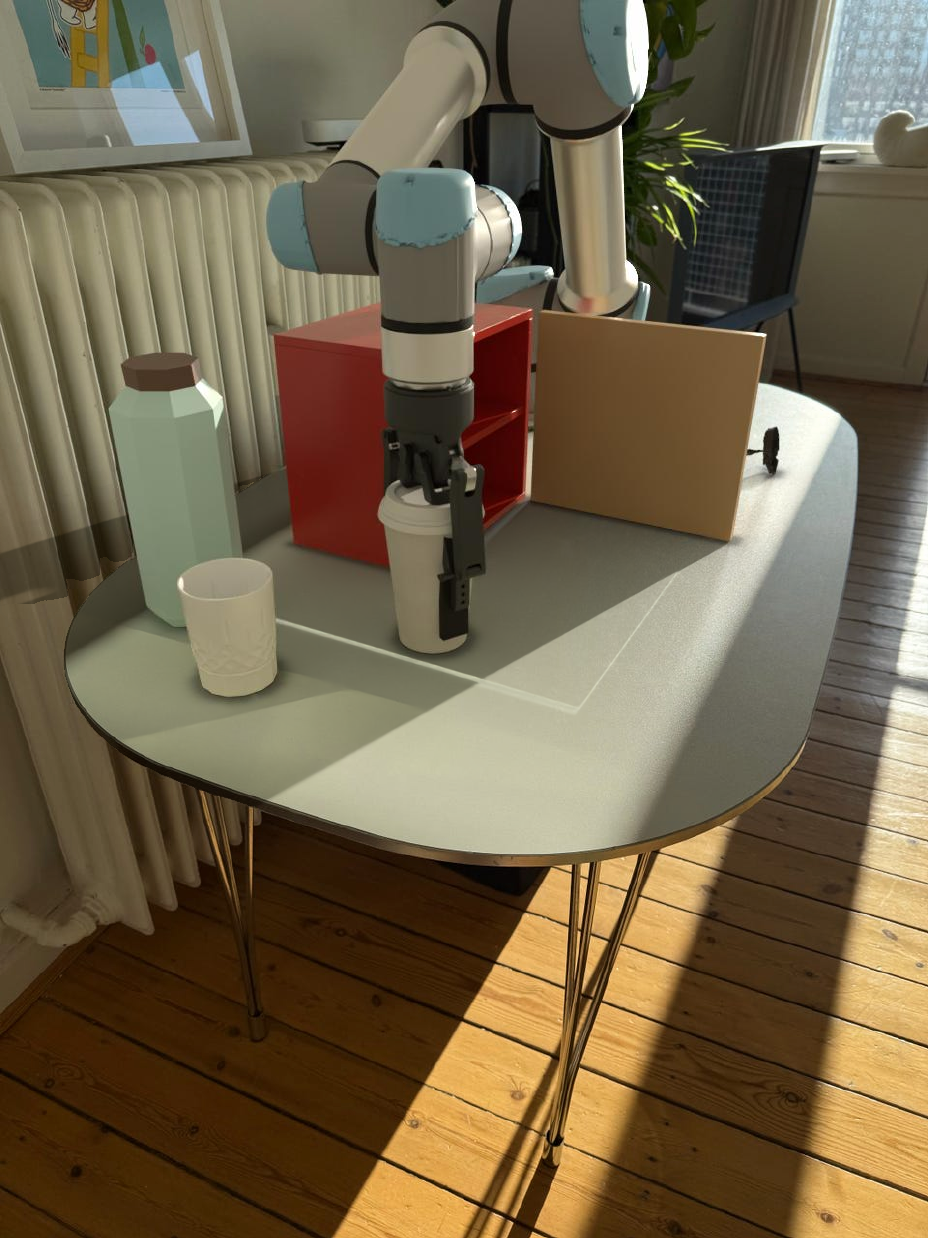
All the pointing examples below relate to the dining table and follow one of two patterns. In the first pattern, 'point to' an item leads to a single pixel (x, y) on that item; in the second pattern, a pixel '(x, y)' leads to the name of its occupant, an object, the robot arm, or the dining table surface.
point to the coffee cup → (417, 564)
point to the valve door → (644, 419)
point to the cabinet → (354, 416)
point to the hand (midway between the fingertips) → (432, 617)
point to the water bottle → (174, 473)
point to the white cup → (231, 624)
